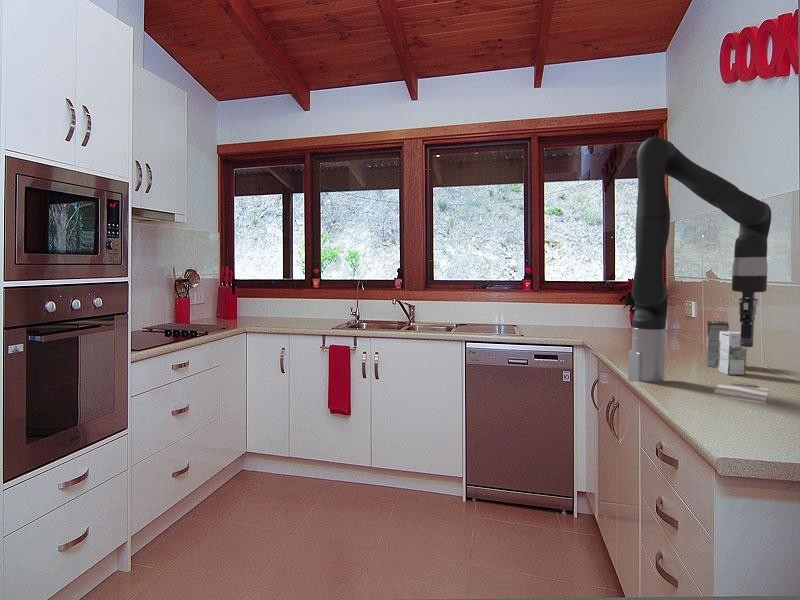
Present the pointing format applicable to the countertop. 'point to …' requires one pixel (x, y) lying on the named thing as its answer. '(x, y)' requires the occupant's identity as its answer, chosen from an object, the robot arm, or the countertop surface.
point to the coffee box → (714, 341)
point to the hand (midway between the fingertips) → (746, 337)
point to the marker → (747, 341)
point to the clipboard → (741, 392)
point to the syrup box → (731, 353)
